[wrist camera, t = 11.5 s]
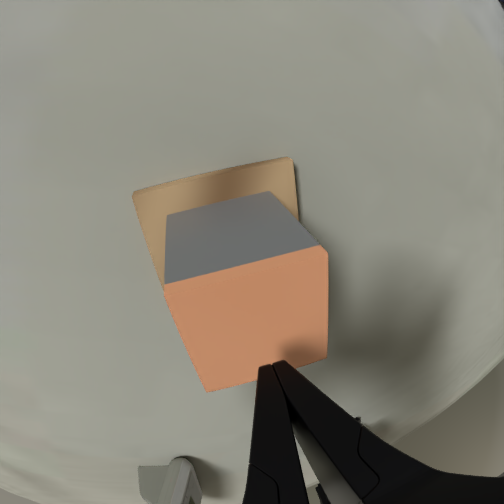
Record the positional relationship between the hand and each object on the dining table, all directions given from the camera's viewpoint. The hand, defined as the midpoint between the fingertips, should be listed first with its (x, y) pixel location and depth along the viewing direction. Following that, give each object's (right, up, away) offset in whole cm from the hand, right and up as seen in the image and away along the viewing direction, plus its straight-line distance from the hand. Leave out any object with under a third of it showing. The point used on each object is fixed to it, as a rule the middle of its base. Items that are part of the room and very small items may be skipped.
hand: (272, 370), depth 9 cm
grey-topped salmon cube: (-2, +4, +7) cm, 8 cm away
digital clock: (-11, -26, +22) cm, 36 cm away
